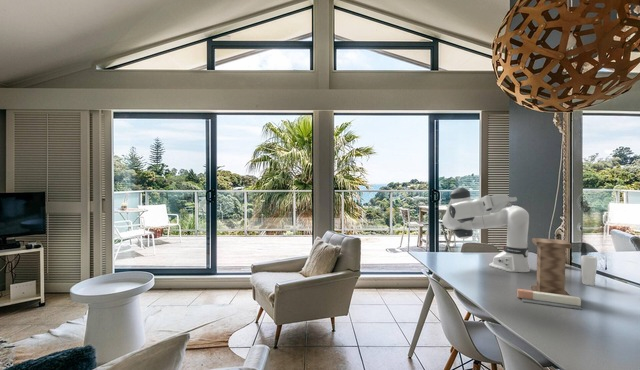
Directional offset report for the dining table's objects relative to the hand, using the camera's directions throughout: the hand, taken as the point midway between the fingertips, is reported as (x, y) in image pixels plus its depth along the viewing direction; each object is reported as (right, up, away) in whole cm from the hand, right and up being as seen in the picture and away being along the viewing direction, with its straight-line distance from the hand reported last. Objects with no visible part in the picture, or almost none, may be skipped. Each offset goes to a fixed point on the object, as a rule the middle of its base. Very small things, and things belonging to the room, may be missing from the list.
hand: (513, 201), depth 164 cm
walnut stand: (+18, -45, 0) cm, 49 cm away
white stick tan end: (+8, -45, -10) cm, 47 cm away
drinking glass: (+48, -45, +14) cm, 67 cm away
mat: (+10, -45, -11) cm, 48 cm away
